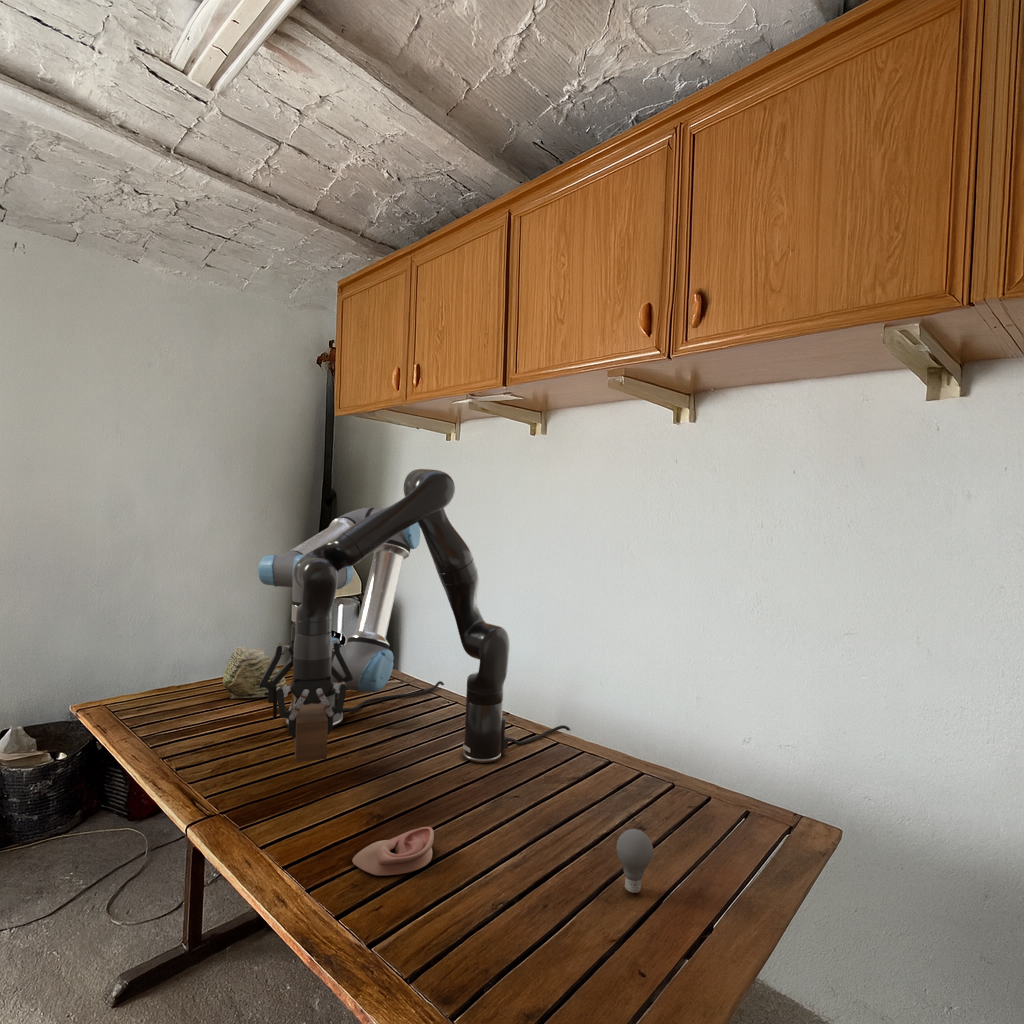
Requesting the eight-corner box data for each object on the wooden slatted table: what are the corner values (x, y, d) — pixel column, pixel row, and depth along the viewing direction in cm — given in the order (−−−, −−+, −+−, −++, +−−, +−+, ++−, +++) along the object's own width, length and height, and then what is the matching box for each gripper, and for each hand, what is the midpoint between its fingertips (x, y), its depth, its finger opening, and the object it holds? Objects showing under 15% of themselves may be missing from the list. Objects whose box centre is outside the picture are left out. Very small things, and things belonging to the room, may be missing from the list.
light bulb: (610, 879, 108) (613, 822, 108) (644, 879, 109) (647, 822, 109) (619, 902, 102) (622, 840, 102) (655, 901, 103) (658, 840, 103)
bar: (291, 718, 148) (291, 685, 148) (317, 716, 150) (318, 683, 150) (295, 762, 125) (296, 723, 125) (326, 759, 127) (327, 720, 127)
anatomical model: (344, 847, 108) (373, 814, 119) (343, 870, 108) (372, 835, 119) (418, 859, 105) (440, 825, 116) (417, 883, 105) (439, 846, 116)
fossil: (218, 695, 195) (220, 647, 195) (278, 685, 208) (279, 640, 207) (228, 703, 189) (230, 653, 188) (289, 692, 201) (290, 645, 201)
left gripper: (249, 628, 137) (247, 725, 138) (366, 623, 146) (363, 714, 147) (250, 621, 144) (247, 713, 145) (361, 616, 153) (359, 703, 154)
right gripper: (275, 660, 123) (273, 745, 124) (351, 656, 129) (348, 738, 129) (275, 651, 130) (272, 732, 131) (346, 647, 136) (344, 725, 136)
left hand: (306, 713), depth 146 cm, fingers open, 13 cm apart
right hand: (310, 734), depth 130 cm, fingers closed on bar, 6 cm apart
